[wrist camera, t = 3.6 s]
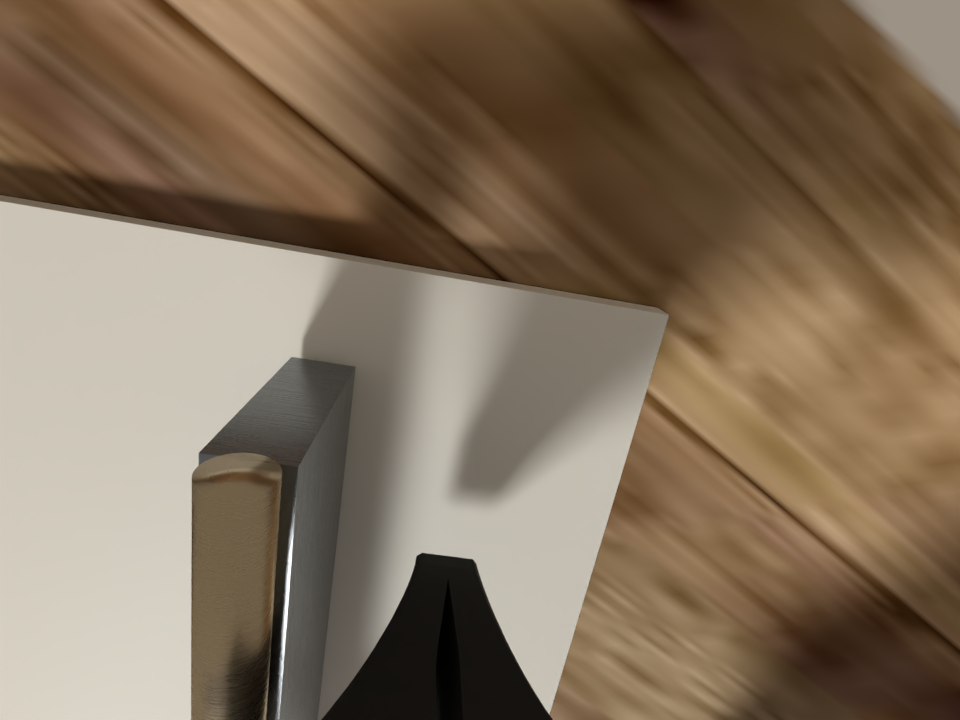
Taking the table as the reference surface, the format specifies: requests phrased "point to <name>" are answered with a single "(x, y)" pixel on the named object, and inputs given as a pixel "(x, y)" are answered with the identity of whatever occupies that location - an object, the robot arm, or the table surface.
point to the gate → (268, 546)
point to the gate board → (226, 390)
